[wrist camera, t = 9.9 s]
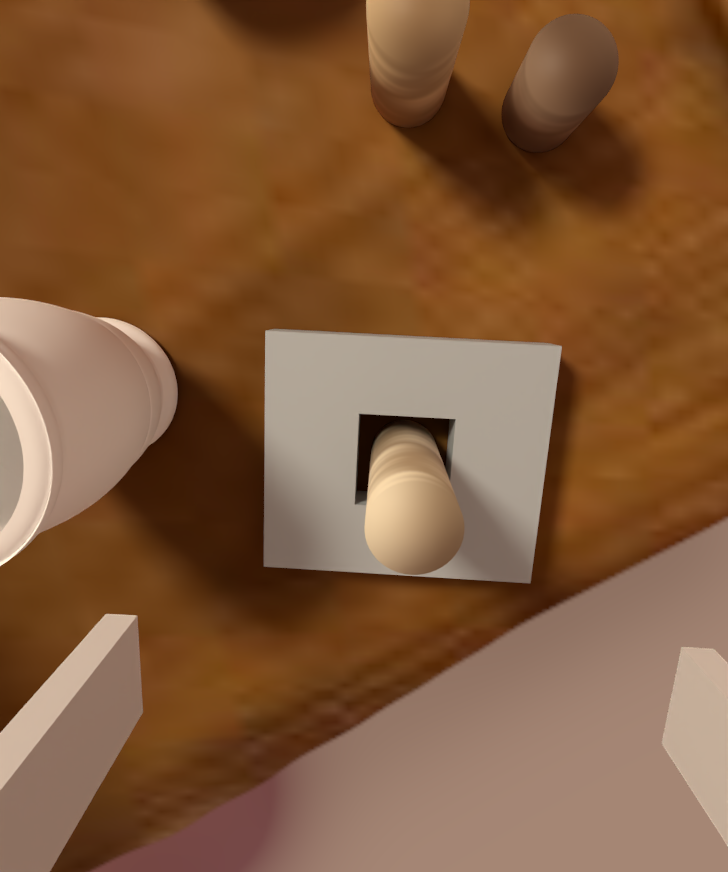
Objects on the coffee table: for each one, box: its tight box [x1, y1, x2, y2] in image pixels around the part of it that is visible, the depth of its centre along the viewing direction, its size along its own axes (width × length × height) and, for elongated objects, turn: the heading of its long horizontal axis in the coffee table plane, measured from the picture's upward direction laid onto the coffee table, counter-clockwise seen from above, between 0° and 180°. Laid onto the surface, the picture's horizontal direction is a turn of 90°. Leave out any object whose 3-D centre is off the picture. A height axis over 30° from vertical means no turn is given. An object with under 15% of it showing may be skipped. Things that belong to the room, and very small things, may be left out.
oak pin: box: [366, 0, 470, 128], centre depth 25 cm, size 4×4×8 cm
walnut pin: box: [502, 14, 618, 153], centre depth 26 cm, size 4×4×5 cm
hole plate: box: [264, 329, 562, 583], centre depth 32 cm, size 16×14×2 cm
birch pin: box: [364, 420, 465, 575], centre depth 28 cm, size 4×4×12 cm
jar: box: [0, 297, 178, 566], centre depth 26 cm, size 11×10×15 cm
